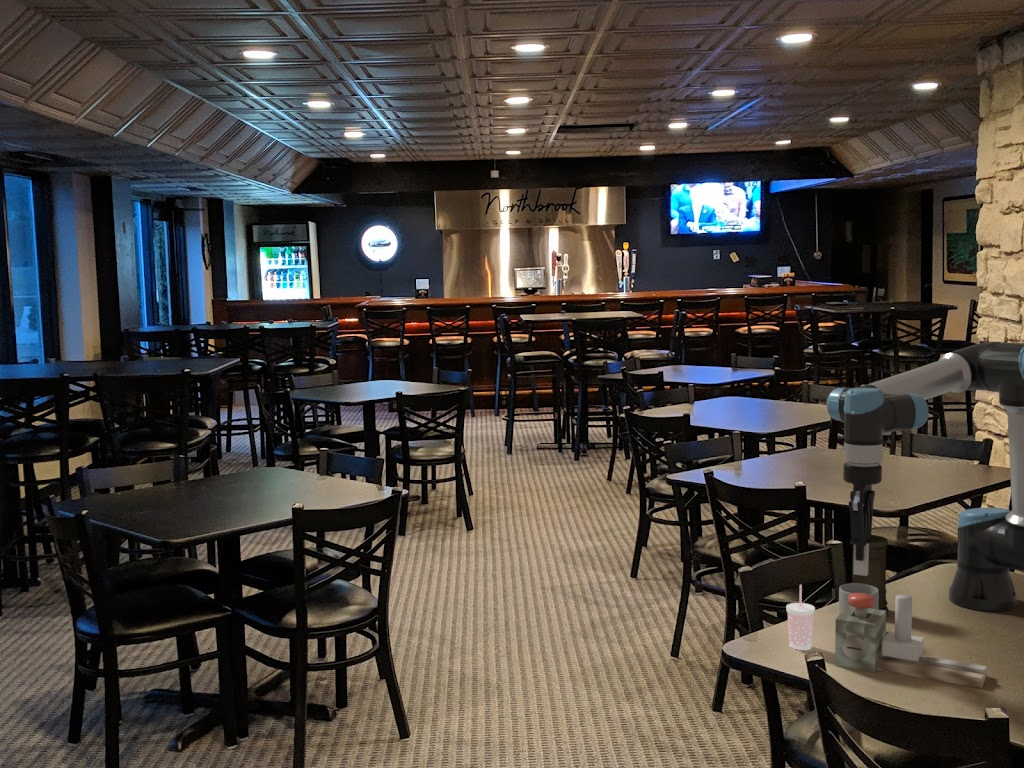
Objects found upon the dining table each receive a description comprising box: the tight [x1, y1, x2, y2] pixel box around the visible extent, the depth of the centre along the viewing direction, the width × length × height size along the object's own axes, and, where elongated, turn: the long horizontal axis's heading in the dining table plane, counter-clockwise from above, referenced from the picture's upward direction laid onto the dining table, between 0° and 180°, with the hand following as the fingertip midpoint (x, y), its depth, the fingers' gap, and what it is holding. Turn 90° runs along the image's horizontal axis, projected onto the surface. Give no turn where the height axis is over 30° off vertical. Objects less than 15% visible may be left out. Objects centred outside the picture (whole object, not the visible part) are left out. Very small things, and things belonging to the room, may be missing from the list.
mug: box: [838, 582, 879, 615], centre depth 233 cm, size 12×8×11 cm
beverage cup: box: [785, 584, 816, 651], centre depth 226 cm, size 6×6×14 cm
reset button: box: [848, 593, 874, 619], centre depth 216 cm, size 5×5×6 cm
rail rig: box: [834, 605, 988, 689], centre depth 212 cm, size 28×11×10 cm, turn 58°
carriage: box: [882, 594, 925, 661], centre depth 212 cm, size 7×6×12 cm
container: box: [851, 534, 889, 615], centre depth 247 cm, size 9×9×18 cm
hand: (860, 574), depth 216 cm, fingers closed
